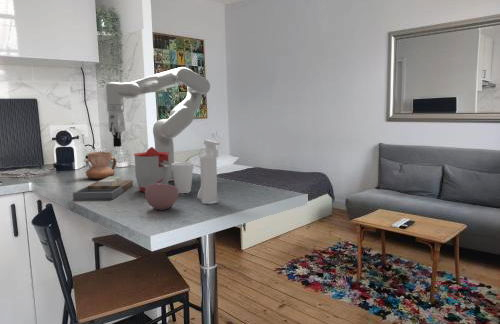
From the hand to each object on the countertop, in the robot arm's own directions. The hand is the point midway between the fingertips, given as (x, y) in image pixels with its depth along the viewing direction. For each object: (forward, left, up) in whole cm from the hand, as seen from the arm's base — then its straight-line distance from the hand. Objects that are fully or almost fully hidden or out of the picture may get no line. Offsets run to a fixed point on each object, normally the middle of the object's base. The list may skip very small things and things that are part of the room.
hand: (117, 146), depth 184 cm
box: (0, +26, -19) cm, 32 cm away
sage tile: (0, +8, -16) cm, 18 cm away
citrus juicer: (-21, +14, -19) cm, 32 cm away
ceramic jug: (+16, -19, -19) cm, 31 cm away
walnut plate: (0, +11, -19) cm, 22 cm away
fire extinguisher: (-48, +37, -19) cm, 64 cm away
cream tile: (0, +15, -16) cm, 22 cm away
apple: (-32, +47, -19) cm, 60 cm away
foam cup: (-35, +19, -19) cm, 45 cm away
